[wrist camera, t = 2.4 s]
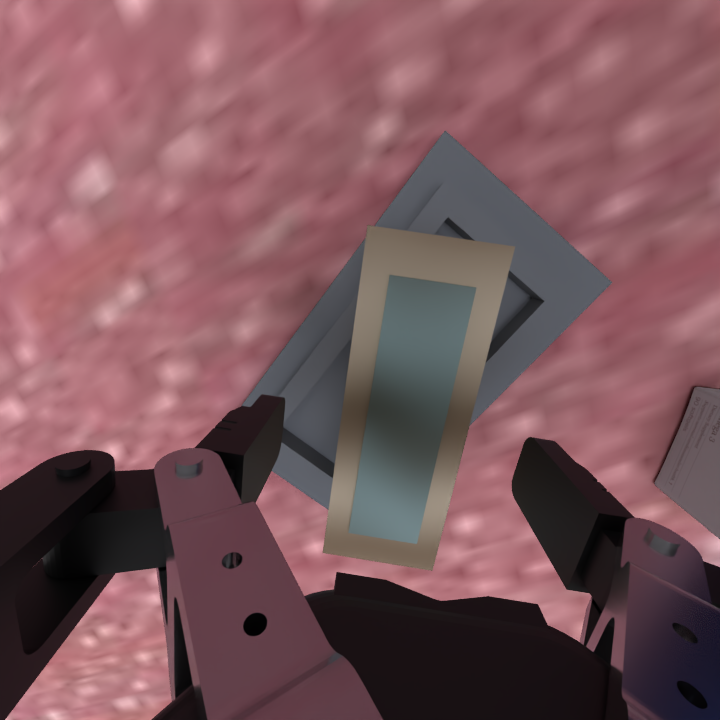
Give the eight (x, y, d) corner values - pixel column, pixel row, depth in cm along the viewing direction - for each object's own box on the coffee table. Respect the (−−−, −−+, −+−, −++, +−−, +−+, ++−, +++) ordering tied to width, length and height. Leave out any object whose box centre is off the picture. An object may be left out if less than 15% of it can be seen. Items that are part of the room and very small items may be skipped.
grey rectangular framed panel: (441, 138, 18) (451, 118, 16) (598, 281, 20) (631, 284, 17) (227, 426, 24) (209, 446, 21) (363, 520, 25) (361, 550, 23)
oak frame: (372, 236, 17) (367, 224, 11) (470, 250, 17) (517, 246, 11) (338, 473, 21) (321, 556, 15) (418, 486, 21) (432, 574, 15)
